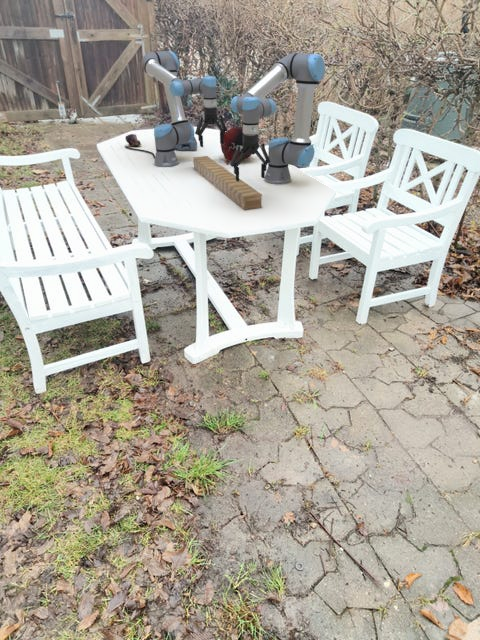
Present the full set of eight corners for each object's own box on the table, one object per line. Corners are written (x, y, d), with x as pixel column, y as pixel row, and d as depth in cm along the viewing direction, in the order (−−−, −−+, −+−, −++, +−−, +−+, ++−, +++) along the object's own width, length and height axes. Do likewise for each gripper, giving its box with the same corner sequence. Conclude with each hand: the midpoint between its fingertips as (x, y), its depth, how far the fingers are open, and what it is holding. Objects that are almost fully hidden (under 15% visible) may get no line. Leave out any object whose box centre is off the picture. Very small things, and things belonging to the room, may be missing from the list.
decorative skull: (217, 132, 305) (217, 129, 281) (251, 125, 304) (254, 121, 280) (224, 165, 312) (224, 164, 288) (257, 157, 311) (260, 156, 287)
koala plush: (197, 151, 320) (195, 121, 309) (172, 151, 319) (169, 122, 308) (197, 145, 334) (195, 116, 323) (173, 145, 333) (170, 117, 322)
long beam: (194, 168, 285) (193, 157, 281) (207, 166, 288) (207, 155, 284) (244, 210, 224) (244, 196, 221) (261, 207, 227) (261, 194, 224)
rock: (137, 145, 340) (124, 146, 336) (136, 133, 337) (122, 134, 332) (142, 146, 331) (129, 147, 327) (140, 133, 327) (127, 134, 323)
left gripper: (193, 110, 251) (195, 149, 263) (232, 105, 261) (232, 143, 273) (187, 107, 256) (190, 146, 268) (226, 103, 266) (226, 141, 279)
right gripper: (228, 137, 204) (229, 184, 216) (278, 133, 211) (276, 178, 223) (222, 134, 210) (224, 179, 222) (271, 130, 217) (270, 174, 229)
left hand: (211, 145), depth 271 cm, fingers open, 13 cm apart
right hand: (250, 179), depth 223 cm, fingers open, 13 cm apart
